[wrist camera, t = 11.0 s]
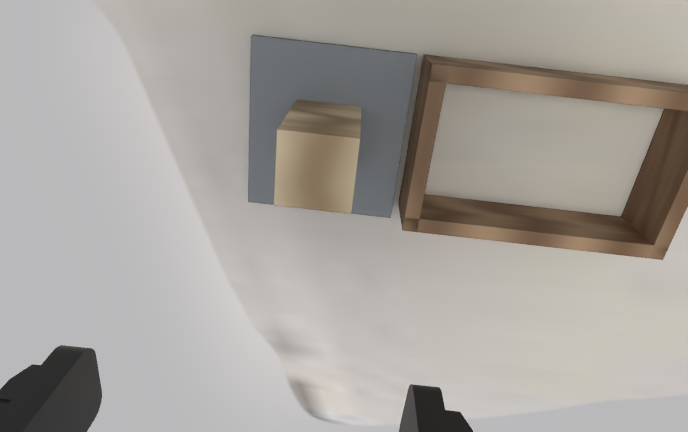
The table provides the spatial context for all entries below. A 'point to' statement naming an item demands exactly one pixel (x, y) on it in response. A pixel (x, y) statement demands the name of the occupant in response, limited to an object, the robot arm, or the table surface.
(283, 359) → the table surface
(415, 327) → the table surface
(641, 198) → the walnut surround
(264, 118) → the slate mat
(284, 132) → the oak block
